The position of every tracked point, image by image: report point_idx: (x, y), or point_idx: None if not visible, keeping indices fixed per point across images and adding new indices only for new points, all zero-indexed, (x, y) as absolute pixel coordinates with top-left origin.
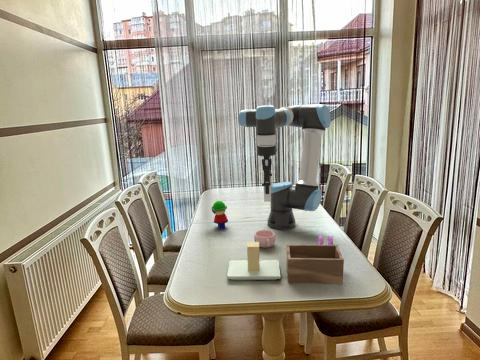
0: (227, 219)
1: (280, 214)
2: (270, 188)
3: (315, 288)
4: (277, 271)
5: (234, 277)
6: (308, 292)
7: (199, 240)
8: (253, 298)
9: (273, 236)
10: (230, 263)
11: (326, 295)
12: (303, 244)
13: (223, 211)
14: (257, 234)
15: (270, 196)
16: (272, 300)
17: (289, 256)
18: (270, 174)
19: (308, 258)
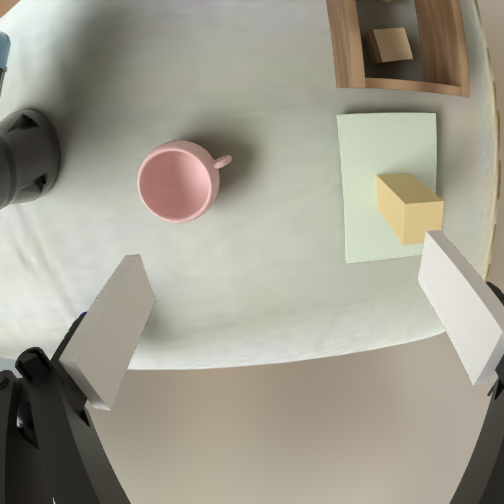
0: (81, 314)
1: (19, 163)
2: (500, 305)
3: None
4: (411, 119)
5: None
6: None
7: (200, 349)
8: (486, 180)
9: (189, 148)
10: (365, 258)
11: (467, 14)
12: (347, 21)
13: None
14: (166, 211)
15: (460, 256)
16: (494, 139)
17: (453, 88)
18: (44, 380)
19: (458, 29)
